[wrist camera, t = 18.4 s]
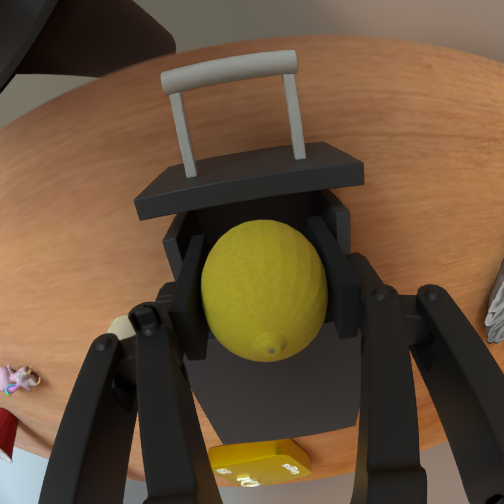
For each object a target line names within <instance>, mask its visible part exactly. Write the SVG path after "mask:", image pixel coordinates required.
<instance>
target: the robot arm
mask: <svg viewBox="0 0 504 504" xmlns="http://www.w3.org/2000/svg"><path fill="white" fill-rule="evenodd" d="M307 226H308V238H309V242H310V243H311V244H312V245H313V246H314V248H315V249H316V251H317V253H318V255H319V257H320V259H321V261H322V263H323V266H324V269H325V273H326V279H327V286H328V304H327V306H328V308H329V311H330V314H331V317H332V319H333V322H334V325H335V328H336V330H337V333H338V336H339V339H340V340H343V339H348V338H353V337H357V335H358V327H359V330H360V332H361V334H362V335H361V343H360V352H359V355H361V394H360V420H359V436H358V450H357V461H356V471H355V480H354V488H353V494H352V498H351V502H350V504H427V475H426V471H425V469H424V468H423V467H421V465H420V458H419V457H420V455H419V432H418V417H417V406H416V396H415V387H414V379H413V371H412V364H411V358H410V352H411V354H412V356H413V358H414V360H415V362H416V364H417V366H418V369H419V371H420V373H421V375H422V377H423V380H424V382H425V384H426V387H427V389H428V391H429V393H430V396H431V398H432V401H433V403H434V405H435V408H436V410H437V413H438V415H439V418H440V420H441V423H442V425H443V428H444V431H445V433H446V436H447V439H448V441H449V444H450V447H451V449H452V452H453V455H454V458H455V461H456V464H457V467H458V470H459V473H460V476H461V480H462V483H463V487H464V490H465V492H466V495H467V498H468V501H469V503H470V504H504V374H503V372H502V371H501V369H500V367H499V366H498V364H497V363H496V361H495V359H494V358H493V356H492V355H491V353H490V352H489V350H488V348H487V347H486V345H485V344H484V342H483V341H482V339H481V338H480V336H479V335H478V334H477V332H476V331H475V329H474V328H473V326H472V325H471V324H470V322H469V321H468V319H467V318H466V317H465V315H464V314H463V312H462V311H461V310H460V308H459V307H458V306H457V304H456V303H455V302H454V300H453V299H452V298H451V296H450V295H449V294H448V293H447V291H446V290H445V289H443V288H442V287H440V286H438V285H433V284H429V285H424V286H421V287H420V288H419V289H418V293H417V295H400V294H398V292H397V291H396V289H394V288H393V287H392V286H389V285H385V284H384V283H383V282H382V280H381V279H380V277H379V276H378V274H377V273H376V272H375V270H374V269H373V267H372V266H371V264H370V263H369V261H368V260H367V259H366V257H364V256H363V255H361V254H359V253H352V254H346V255H345V254H344V253H343V251H342V249H341V248H340V246H339V245H338V243H337V241H336V240H335V238H334V237H333V235H332V233H331V232H330V230H329V229H328V227H327V225H326V224H325V222H324V221H323V219H322V218H321V216H314V217H307ZM209 253H210V250H209V246H208V242H207V238H206V234H200V235H194V236H192V238H191V241H190V243H189V246H188V249H187V252H186V255H185V258H184V261H183V264H182V267H181V270H180V273H179V276H178V279H177V281H176V282H169V283H165V284H164V286H163V287H162V288H161V289H160V290H159V293H158V295H157V298H156V301H155V302H145V303H141V304H139V305H137V306H135V307H134V308H133V309H132V310H131V311H130V312H129V314H128V319H129V321H130V323H131V325H132V327H133V329H134V331H135V333H136V335H134V336H131V337H128V338H125V339H122V340H119V338H118V337H117V335H115V334H114V333H106V334H103V335H100V336H99V337H97V338H96V339H95V340H94V341H93V343H92V344H91V346H90V348H89V351H88V353H87V355H86V358H85V360H84V363H83V365H82V367H81V370H80V372H79V375H78V377H77V380H76V382H75V385H74V387H73V390H72V393H71V395H70V398H69V401H68V403H67V406H66V409H65V412H64V415H63V417H62V420H61V423H60V426H59V429H58V432H57V435H56V439H55V442H54V445H53V448H52V452H51V455H50V459H49V462H48V466H47V470H46V473H45V477H44V481H43V485H42V489H41V493H40V498H39V502H38V504H123V498H124V490H125V483H126V476H127V469H128V463H129V456H130V450H131V444H132V439H133V433H134V428H135V422H136V417H137V412H138V416H139V428H140V438H141V448H142V456H143V464H144V471H145V478H146V484H147V490H148V498H147V499H146V500H145V501H144V502H143V504H223V502H222V499H221V496H220V493H219V490H218V487H217V484H216V481H215V477H214V474H213V471H212V467H211V464H210V461H209V457H208V454H207V450H206V447H205V443H204V439H203V436H202V432H201V428H200V424H199V420H198V416H197V412H196V408H195V404H194V400H193V395H192V391H191V387H190V382H189V378H188V373H187V368H186V366H185V364H184V362H183V359H184V353H185V354H186V357H187V359H188V361H195V360H206V353H207V344H208V336H209V326H208V323H207V320H206V317H205V314H204V310H203V307H202V302H201V277H202V272H203V268H204V265H205V263H206V260H207V257H208V255H209ZM409 350H410V351H409Z"/></svg>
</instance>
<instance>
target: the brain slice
mask: <svg viewBox="0 0 504 504" xmlns="http://www.w3.org/2000/svg"><path fill="white" fill-rule="evenodd" d="M487 314H488V315H487V317H486V319H485V322H484V327H486V337H487V343H488V344H490V343H493V342H494V343H495V344H497V343H500V342H502V341H503V340H504V259H503V263H502V268H501V269H500V271H499V274H498V276H497V279H496V282H495V284H494V287H493V288H492V290H491V292H490V297H489V304H488V313H487Z"/></svg>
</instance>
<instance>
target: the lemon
mask: <svg viewBox="0 0 504 504" xmlns="http://www.w3.org/2000/svg"><path fill="white" fill-rule="evenodd" d="M201 302H202V307H203V310H204V314H205V317H206V320H207V323H208V326H209V328H210V330H211V331H212V333H213V334H214V336H215V337H216V339H217V340H218V341H219V342H220V343H221V344H222V345H223V346H224V347H225V348H227V349H228V350H229V351H231V352H232V353H234V354H236V355H238V356H240V357H242V358H245V359H249V360H252V361H259V362H272V361H278V360H282V359H286V358H288V357H290V356H292V355H294V354H297V353H298V352H300V351H301V350H302V349H304V348H305V347H306V346H307V345H308V344H309V343H310V342H311V341H312V340H313V339H314V338H315V337H316V335H317V334H318V332H319V330H320V328H321V326H322V324H323V322H324V319H325V316H326V310H327V304H328V286H327V279H326V273H325V269H324V266H323V263H322V261H321V259H320V257H319V255H318V253H317V251H316V249H315V248H314V246H313V245H312V244H311V243H310V242H309V241H308V240H307V239H306V238H305V237H304V236H303V235H302V234H301V233H300V232H298V231H297V230H295V229H293V228H292V227H290V226H288V225H287V224H284V223H281V222H277V221H274V220H254V221H249V222H245V223H242V224H240V225H238V226H236V227H234V228H232V229H230V230H229V231H228V232H227V233H225V234H224V235H223V236H222V237H221V238H220V239H219V240H218V241H217V243H216V244H215V245H214V247H213V248H212V250H211V251H210V253H209V255H208V257H207V260H206V263H205V265H204V268H203V272H202V277H201Z"/></svg>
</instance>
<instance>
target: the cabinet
mask: <svg viewBox="0 0 504 504" xmlns="http://www.w3.org/2000/svg"><path fill="white" fill-rule="evenodd" d="M361 335H362V334H361V332H360V330H359V327H358V335H357V337H353V338H348V339H343V340H340V339H339V336H338V333H337V330H336V328H335V325H334V322H333V319H332V317H331V314H330V313H326V316H325V319H324V322H323V324H322V326H321V328H320V330H319V332H318V334H317V335H316V337H315V338H314V339H313V340H312V341H311V342H310V343H309V344H308V345H307V346H306V347H305V348H304V349H302V350H301V351H300V352H298V353H297V354H294V355H292V356H290V357H288V358H286V359H282V360H278V361H272V362H259V361H252V360H249V359H245V358H242V357H240V356H238V355H236V354H234V353H232V352H231V351H229V350H228V349H227V348H225V347H224V346H223V345H222V344H221V343H220V342H219V341H218V340H217V339H216V337H215V336H214V334H213V333H212V331H211V330H210V331H209V336H208V344H207V353H206V360H195V361H188V359H187V357H186V354H185V353H184V359H183V362H184V364H185V366H186V368H187V373H188V378H189V382H190V387H191V389H192V391H193V393H194V394H195V396H196V398H197V400H198V402H199V404H200V405H201V407H202V409H203V411H204V413H205V414H206V416H207V418H208V420H209V421H210V423H211V425H212V427H213V428H214V430H215V432H216V433H217V435H218V437H219V438H220V440H221V442H222V443H223V444H240V443H253V442H263V441H272V440H280V439H288V438H295V437H301V436H307V435H313V434H318V433H324V432H329V431H334V430H338V429H343V428H347V427H351V426H355V425H356V421H357V417H358V412H359V408H360V394H361V355H359V352H360V343H361Z"/></svg>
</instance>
